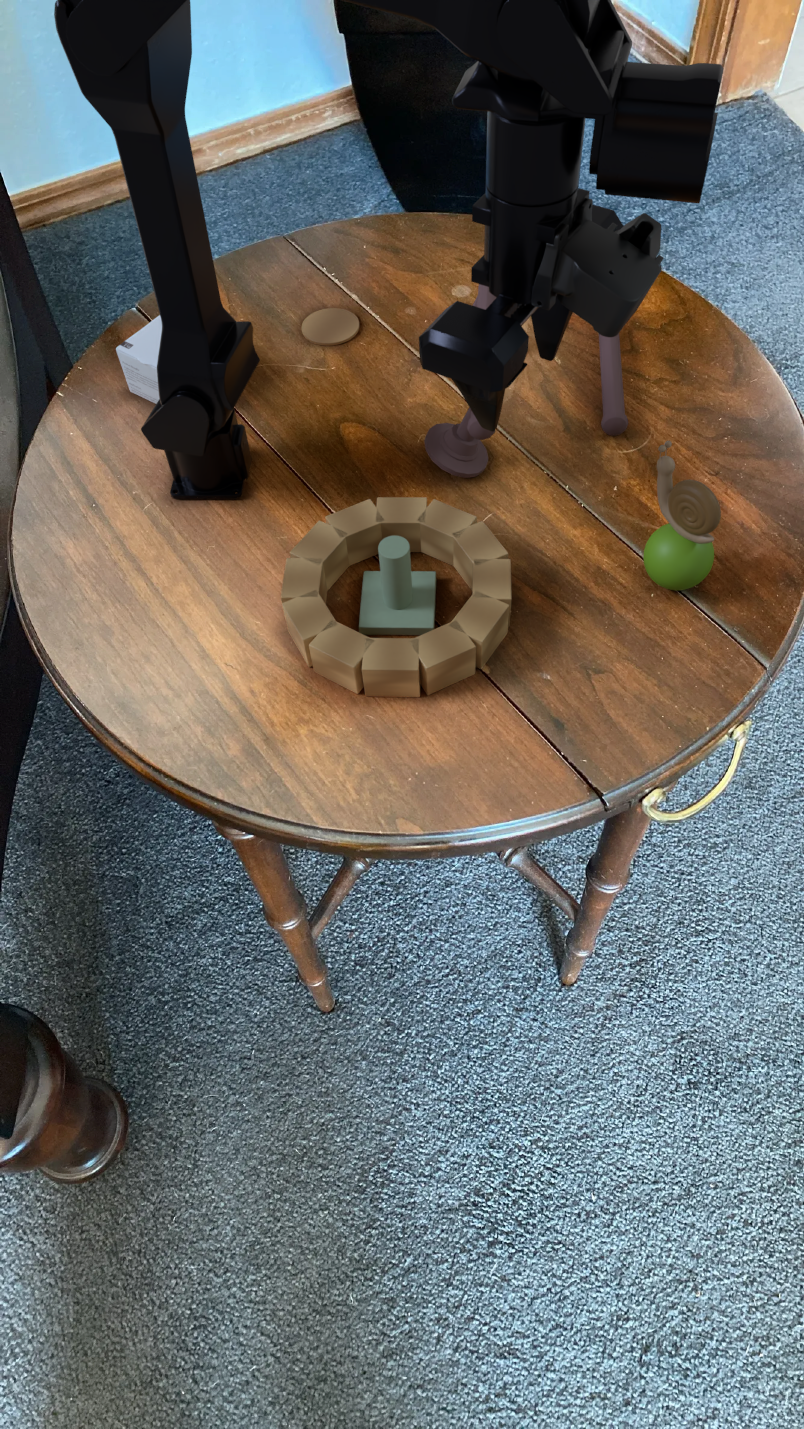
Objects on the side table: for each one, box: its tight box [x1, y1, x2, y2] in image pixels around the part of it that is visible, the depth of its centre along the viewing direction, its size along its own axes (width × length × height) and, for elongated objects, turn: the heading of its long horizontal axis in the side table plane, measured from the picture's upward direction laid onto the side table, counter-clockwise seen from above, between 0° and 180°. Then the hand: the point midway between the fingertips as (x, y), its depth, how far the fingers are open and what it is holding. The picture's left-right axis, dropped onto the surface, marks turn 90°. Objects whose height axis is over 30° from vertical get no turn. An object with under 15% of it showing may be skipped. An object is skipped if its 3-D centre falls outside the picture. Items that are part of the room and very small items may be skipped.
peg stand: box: [358, 536, 437, 636], centre depth 76 cm, size 6×6×7 cm
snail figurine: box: [642, 440, 722, 591], centre depth 75 cm, size 5×6×12 cm
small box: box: [115, 314, 162, 405], centre depth 94 cm, size 8×8×5 cm
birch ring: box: [280, 496, 512, 698], centre depth 78 cm, size 18×18×4 cm
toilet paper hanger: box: [423, 284, 629, 479], centre depth 92 cm, size 28×7×17 cm
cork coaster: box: [301, 307, 360, 347], centre depth 101 cm, size 6×6×1 cm
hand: (518, 392), depth 73 cm, fingers open, 9 cm apart
